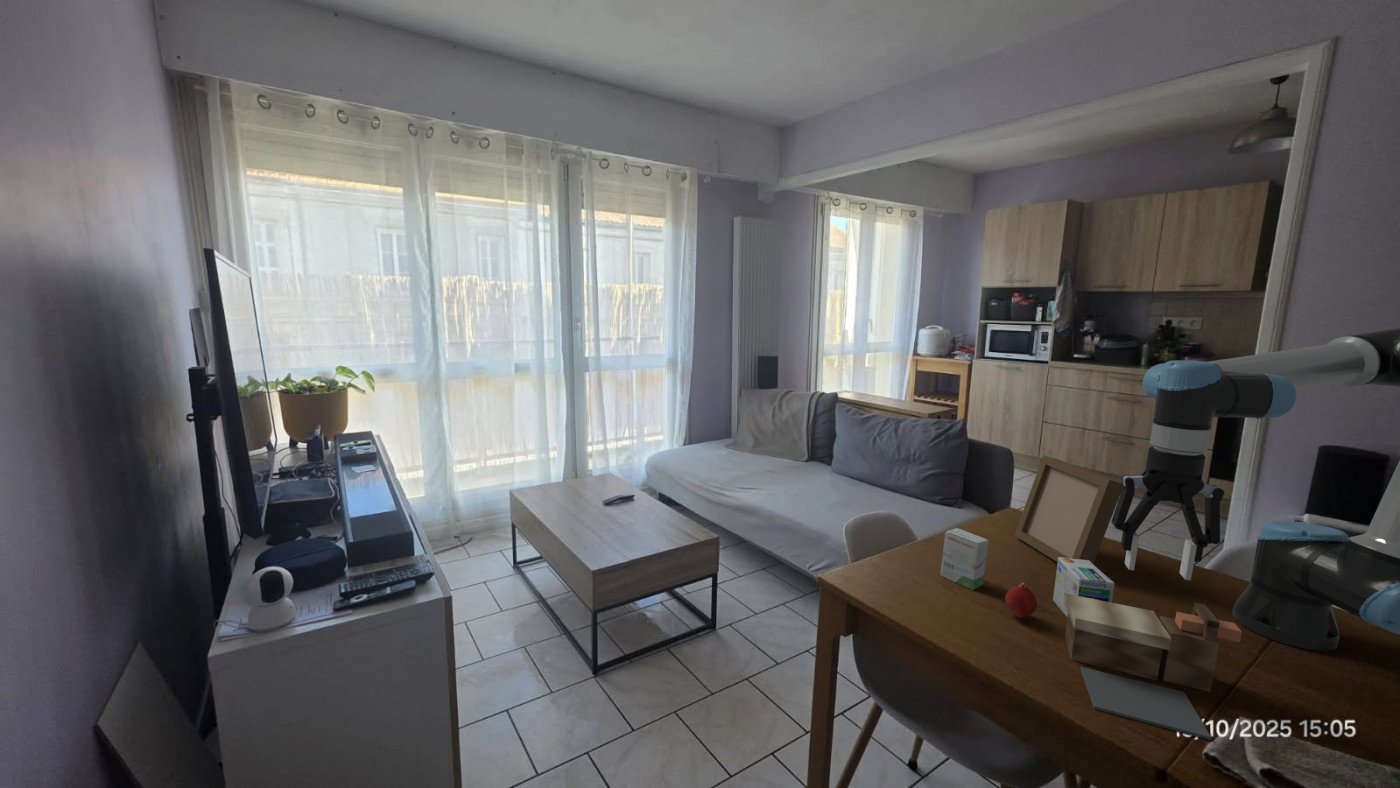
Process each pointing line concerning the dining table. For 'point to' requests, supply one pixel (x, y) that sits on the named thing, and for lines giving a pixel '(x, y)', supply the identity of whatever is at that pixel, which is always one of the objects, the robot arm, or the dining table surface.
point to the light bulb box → (1080, 582)
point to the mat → (1143, 702)
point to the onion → (1021, 600)
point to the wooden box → (1154, 652)
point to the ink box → (964, 558)
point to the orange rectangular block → (1197, 625)
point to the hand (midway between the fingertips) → (1156, 571)
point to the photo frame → (1068, 510)
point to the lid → (1117, 621)
